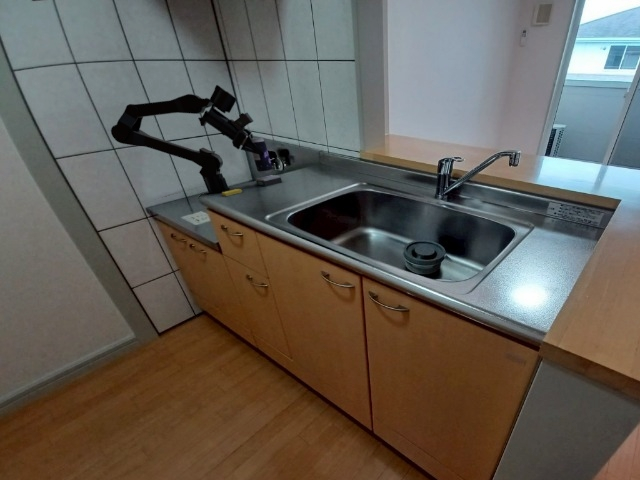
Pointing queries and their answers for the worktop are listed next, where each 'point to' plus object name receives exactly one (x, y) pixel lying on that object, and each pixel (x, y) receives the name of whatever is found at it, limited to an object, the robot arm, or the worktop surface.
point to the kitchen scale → (268, 180)
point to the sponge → (231, 192)
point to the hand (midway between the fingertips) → (264, 153)
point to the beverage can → (262, 161)
